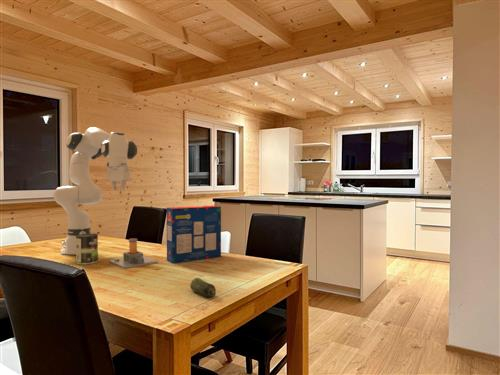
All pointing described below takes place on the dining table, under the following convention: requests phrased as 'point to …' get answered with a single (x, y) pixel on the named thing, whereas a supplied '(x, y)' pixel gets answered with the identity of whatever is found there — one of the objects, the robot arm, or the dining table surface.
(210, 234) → the blue board game box
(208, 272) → the dining table surface
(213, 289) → the vegetable
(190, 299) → the dining table surface
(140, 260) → the grey square base plate
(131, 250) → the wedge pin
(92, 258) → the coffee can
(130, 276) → the dining table surface
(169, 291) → the dining table surface
